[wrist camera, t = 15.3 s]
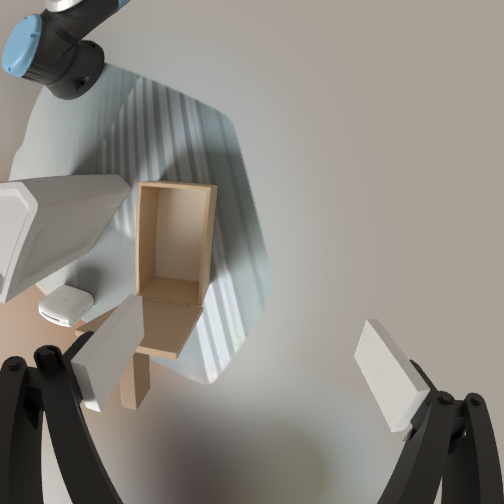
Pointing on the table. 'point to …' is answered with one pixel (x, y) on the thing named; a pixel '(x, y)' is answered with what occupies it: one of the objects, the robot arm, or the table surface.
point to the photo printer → (66, 305)
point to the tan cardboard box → (151, 343)
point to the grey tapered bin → (52, 224)
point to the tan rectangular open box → (174, 240)
